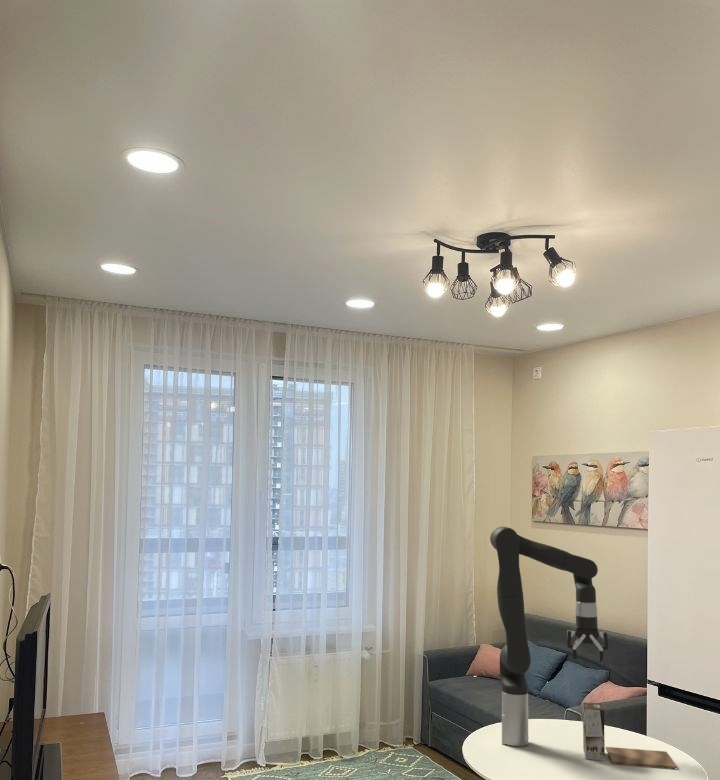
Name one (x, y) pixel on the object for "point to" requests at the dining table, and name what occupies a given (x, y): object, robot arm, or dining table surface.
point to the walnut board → (640, 757)
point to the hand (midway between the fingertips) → (587, 660)
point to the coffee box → (593, 731)
